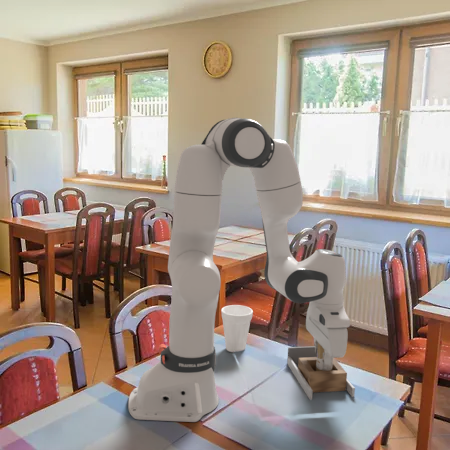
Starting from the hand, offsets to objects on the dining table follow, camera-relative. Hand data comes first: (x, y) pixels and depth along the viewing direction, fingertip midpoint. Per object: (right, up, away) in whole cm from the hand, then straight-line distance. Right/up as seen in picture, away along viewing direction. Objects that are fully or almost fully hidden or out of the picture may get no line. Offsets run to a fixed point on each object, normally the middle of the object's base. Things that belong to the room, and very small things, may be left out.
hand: (322, 358), depth 131 cm
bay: (-1, -7, +3) cm, 8 cm away
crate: (0, -7, +1) cm, 7 cm away
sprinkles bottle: (0, -6, +1) cm, 6 cm away
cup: (-23, -4, +22) cm, 32 cm away
